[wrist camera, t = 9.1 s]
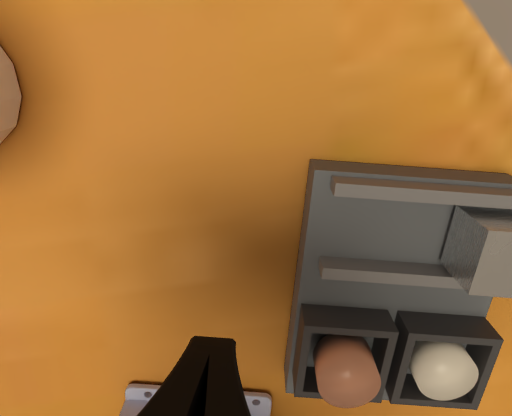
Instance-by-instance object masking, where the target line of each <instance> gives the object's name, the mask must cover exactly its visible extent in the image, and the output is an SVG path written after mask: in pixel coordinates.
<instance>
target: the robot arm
mask: <svg viewBox="0 0 512 416" xmlns="http://www.w3.org/2000/svg"><path fill="white" fill-rule="evenodd" d="M148 392H150V393H148ZM125 398H126V400H125V402H124V405H123V407H122V410H121V412H120V415H119V416H270V413H271V404H272V399H271V396H270V395H269V394H267V393H260V392H246V391H243V388H242V384H241V380H240V376H239V371H238V366H237V359H236V342H235V341H234V340H233V339H230V338H216V337H202V336H194V337H193V338H191V340H190V342H189V344H188V346H187V348H186V349H185V351H184V353H183V354H182V356H181V358H180V359H179V361H178V362H177V364H176V365H175V367H174V368H173V370H172V371H171V372H170V374H169V375H168V377H167V378H166V379H165V381H164V382H163V384H162V385H148V384H129V385H128V386H127V388H126V390H125ZM256 399H257V400H256Z"/></svg>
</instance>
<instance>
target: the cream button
mask: <svg viewBox="0 0 512 416" xmlns="http://www.w3.org/2000/svg"><path fill="white" fill-rule="evenodd" d="M408 367H409V369H410V371H411V373H412V375H413V377H414V380H415V382H416V384H417V386H418V388H419V390H420V391H421V393H422V394H424V395H425V396H426V397H428V398H431V399H434V400H440V401H445V400H452V399H456V398H459V397H461V396H463V395H465V394H466V393H468V392H469V391H470V390H471V389H472V388H473V387H474V386H475V384H476V382H477V380H478V375H479V373H478V368H477V366H476V364H475V363H474V361H473V360H472V359H471V357H470V356H469V354H468V353H467V351H466V350H465V348H464V347H463V345H462V344H458V343H445V342H431V341H417V340H416V341H415V345H414V348H413V352H412V356H411V359H410V363H409V366H408Z"/></svg>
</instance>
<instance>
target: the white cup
mask: <svg viewBox="0 0 512 416" xmlns="http://www.w3.org/2000/svg"><path fill="white" fill-rule="evenodd" d="M21 98H22V96H21V92H20V88H19V84H18V80H17V77H16V73H15V69H14V65H13V63H12V61H11V60H10V59H9V57H8V56H7V54H6V53H5V52H4V50H3V49H2V48H1V46H0V144H1V143H2V141H3V140H4V139H5V138H6V137H7V136H8V135H9V133H10V132H11V131H12V130H13V129H14V128H15V127H16V125H17V120H18V114H19V109H20V104H21Z"/></svg>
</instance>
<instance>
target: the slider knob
mask: <svg viewBox="0 0 512 416" xmlns="http://www.w3.org/2000/svg"><path fill="white" fill-rule="evenodd" d="M440 262H441V264H442V265H443V266H444V267H445V268H446V269H447V271H448V272H449V273H450V274H451V275H452V276H453V278H454V279H455V280H456V281H457V282H458V283H459V285H460V286H461V287H462V288H463V289H464V290H465V292H466V293H467V294H468V295H477V296H491V297H504V298H512V209H500V208H487V207H473V206H460V205H456V207H455V211H454V214H453V218H452V221H451V225H450V229H449V232H448V236H447V239H446V243H445V246H444V250H443V254H442V257H441V261H440Z"/></svg>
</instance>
